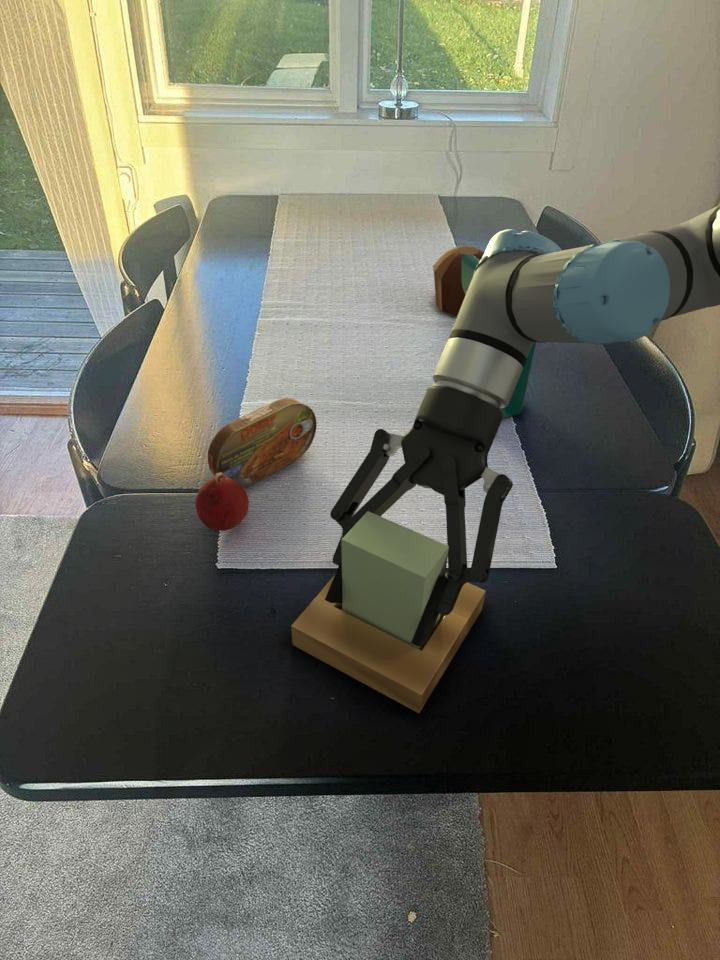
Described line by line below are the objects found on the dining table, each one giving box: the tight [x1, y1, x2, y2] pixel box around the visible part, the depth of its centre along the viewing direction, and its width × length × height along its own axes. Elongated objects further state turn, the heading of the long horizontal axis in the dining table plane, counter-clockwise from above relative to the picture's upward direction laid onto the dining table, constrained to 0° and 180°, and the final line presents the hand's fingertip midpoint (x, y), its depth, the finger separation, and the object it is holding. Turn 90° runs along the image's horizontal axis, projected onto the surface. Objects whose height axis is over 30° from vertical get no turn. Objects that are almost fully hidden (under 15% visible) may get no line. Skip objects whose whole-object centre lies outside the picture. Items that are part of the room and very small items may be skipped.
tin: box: [207, 397, 318, 489], centre depth 86 cm, size 15×3×8 cm, turn 132°
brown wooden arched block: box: [432, 244, 485, 318], centre depth 121 cm, size 12×11×10 cm
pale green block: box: [341, 511, 449, 651], centre depth 66 cm, size 4×8×12 cm, turn 58°
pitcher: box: [462, 254, 538, 419], centre depth 93 cm, size 10×8×22 cm
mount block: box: [290, 572, 486, 714], centre depth 69 cm, size 14×14×3 cm
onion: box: [195, 472, 250, 532], centre depth 78 cm, size 6×6×8 cm
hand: (375, 621), depth 65 cm, fingers closed on pale green block, 8 cm apart
